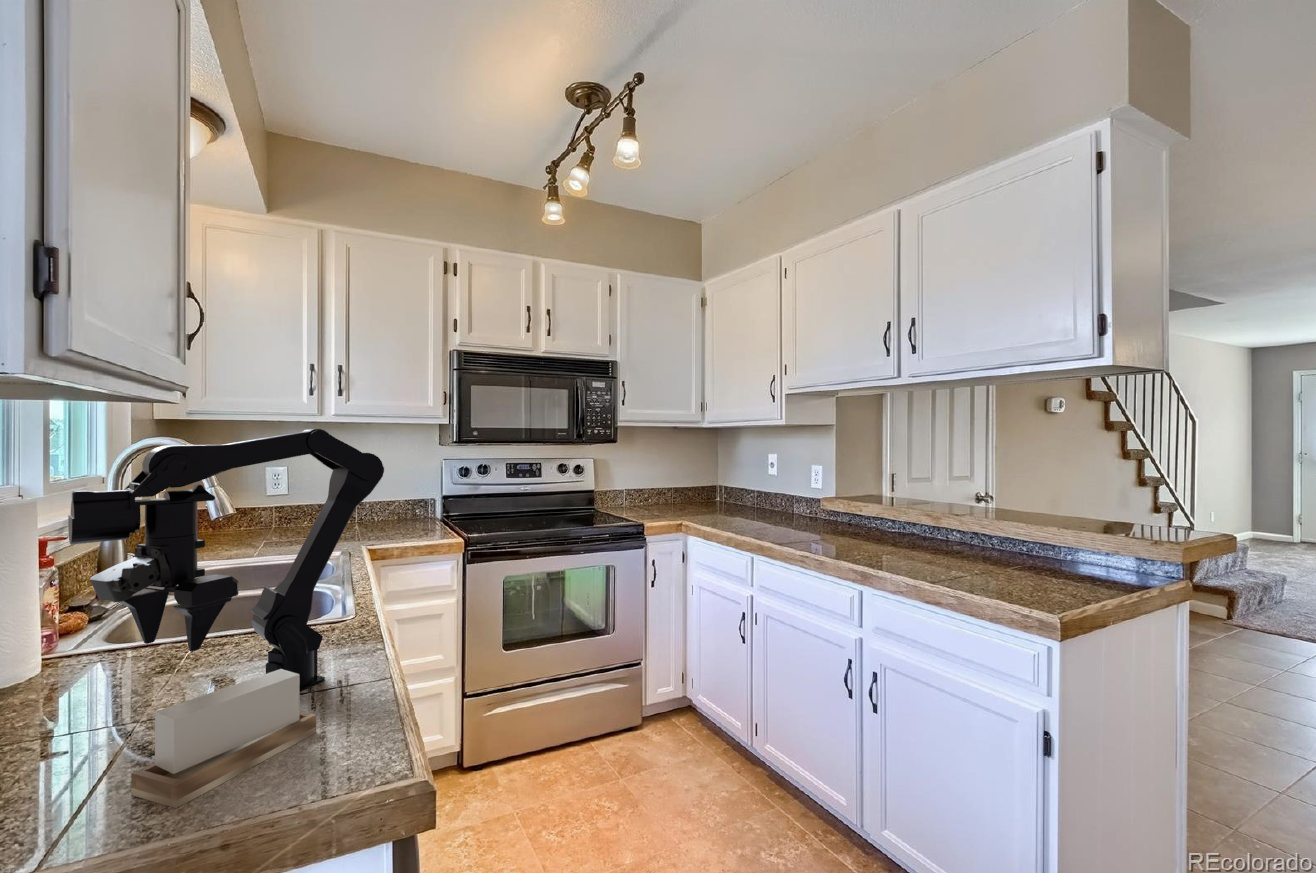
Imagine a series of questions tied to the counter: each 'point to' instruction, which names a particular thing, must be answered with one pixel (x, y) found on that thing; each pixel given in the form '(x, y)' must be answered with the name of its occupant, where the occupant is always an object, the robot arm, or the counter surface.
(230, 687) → the white rectangular block
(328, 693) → the counter surface
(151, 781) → the brown rectangular tray
